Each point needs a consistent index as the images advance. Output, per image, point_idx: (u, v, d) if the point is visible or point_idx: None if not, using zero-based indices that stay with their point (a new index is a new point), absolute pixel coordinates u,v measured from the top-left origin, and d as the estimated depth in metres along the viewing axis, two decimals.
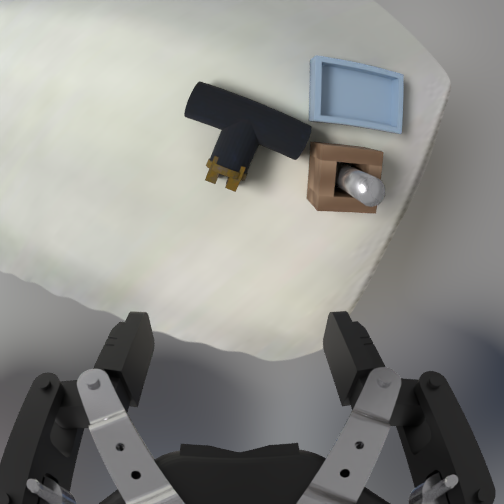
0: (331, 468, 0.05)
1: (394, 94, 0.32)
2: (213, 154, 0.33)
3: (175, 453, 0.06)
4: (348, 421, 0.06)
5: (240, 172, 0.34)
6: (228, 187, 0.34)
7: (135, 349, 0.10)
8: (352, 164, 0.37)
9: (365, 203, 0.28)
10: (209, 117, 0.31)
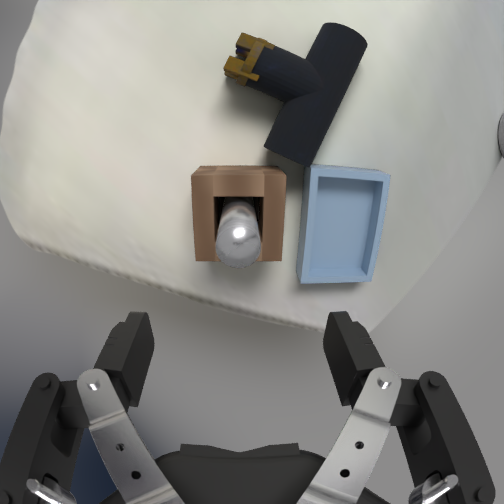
0: (331, 468, 0.05)
1: (345, 271, 0.33)
2: (274, 45, 0.21)
3: (175, 453, 0.06)
4: (348, 421, 0.06)
5: (250, 74, 0.21)
6: (230, 59, 0.21)
7: (135, 349, 0.10)
8: None
9: (219, 239, 0.20)
10: (325, 46, 0.20)
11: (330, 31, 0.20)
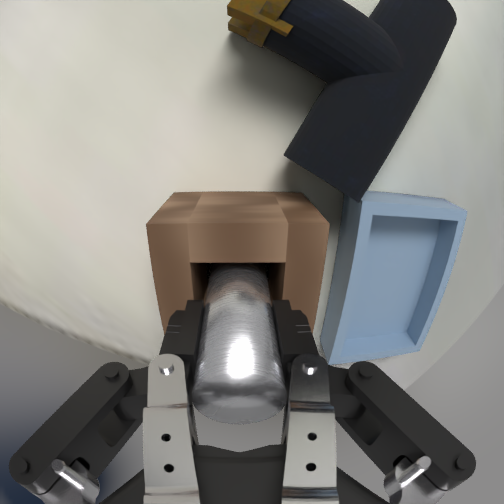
0: (331, 468, 0.05)
1: (388, 340, 0.22)
2: None
3: None
4: (291, 417, 0.06)
5: (277, 21, 0.10)
6: None
7: (199, 334, 0.11)
8: None
9: (199, 390, 0.08)
10: (404, 6, 0.09)
11: None
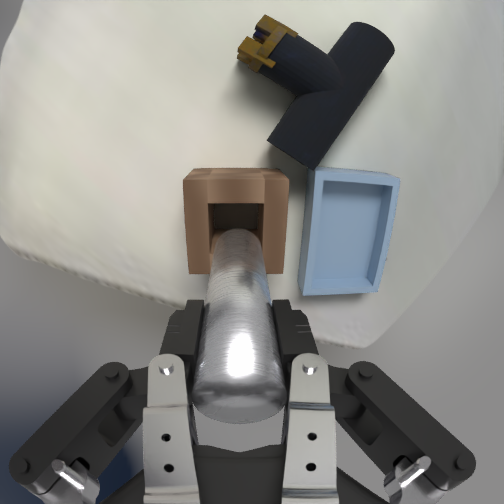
0: (331, 468, 0.05)
1: (350, 281, 0.31)
2: (297, 34, 0.18)
3: None
4: (290, 417, 0.06)
5: (266, 59, 0.19)
6: (246, 40, 0.18)
7: (199, 334, 0.11)
8: (249, 230, 0.29)
9: (199, 390, 0.08)
10: (352, 44, 0.18)
11: (358, 30, 0.18)
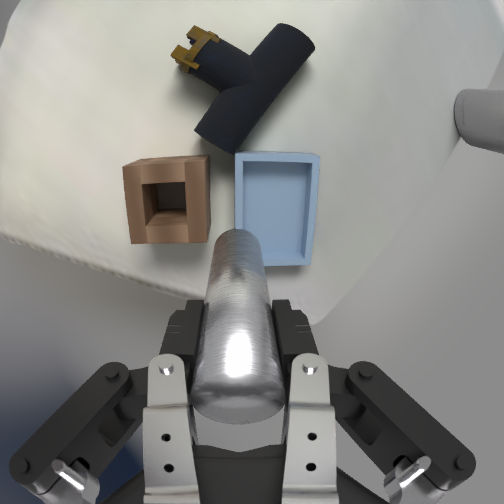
0: (331, 468, 0.05)
1: (283, 255, 0.35)
2: (222, 40, 0.22)
3: None
4: (290, 417, 0.06)
5: (192, 62, 0.22)
6: (177, 48, 0.22)
7: (199, 334, 0.11)
8: (187, 209, 0.33)
9: (198, 391, 0.08)
10: (269, 44, 0.22)
11: (278, 31, 0.22)
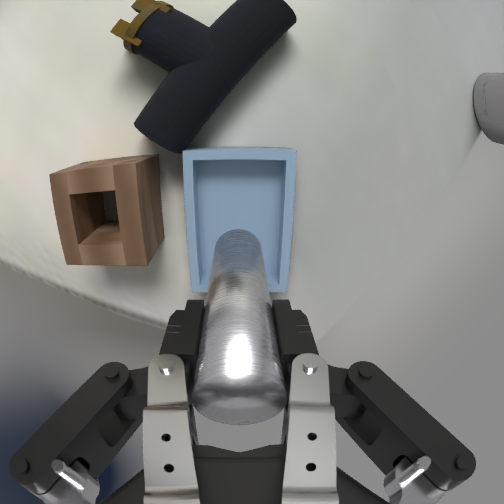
0: (331, 468, 0.05)
1: None
2: (175, 10, 0.15)
3: None
4: (290, 417, 0.06)
5: (133, 38, 0.15)
6: (119, 22, 0.15)
7: (199, 334, 0.11)
8: None
9: (199, 391, 0.08)
10: (232, 11, 0.15)
11: None
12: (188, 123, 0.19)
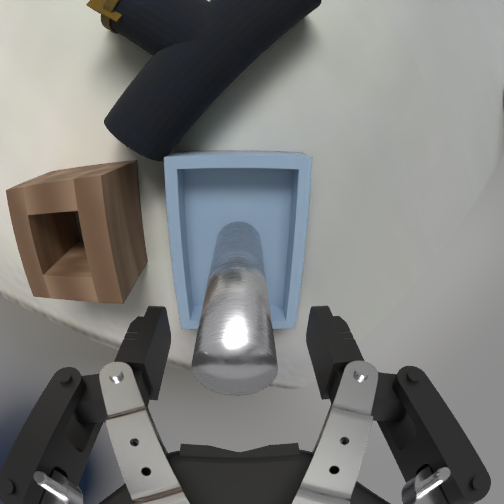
0: (331, 468, 0.05)
1: None
2: None
3: (175, 453, 0.06)
4: (330, 418, 0.06)
5: (112, 12, 0.10)
6: None
7: (155, 342, 0.10)
8: None
9: (198, 359, 0.10)
10: None
11: None
12: (171, 122, 0.14)
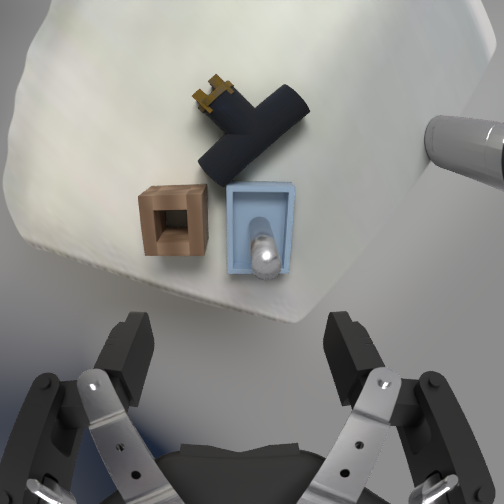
0: (331, 468, 0.05)
1: None
2: (235, 91, 0.31)
3: (175, 453, 0.06)
4: (348, 421, 0.06)
5: (207, 107, 0.31)
6: (198, 91, 0.30)
7: (135, 349, 0.10)
8: None
9: (254, 261, 0.30)
10: (272, 103, 0.31)
11: (282, 92, 0.31)
12: (233, 171, 0.35)
